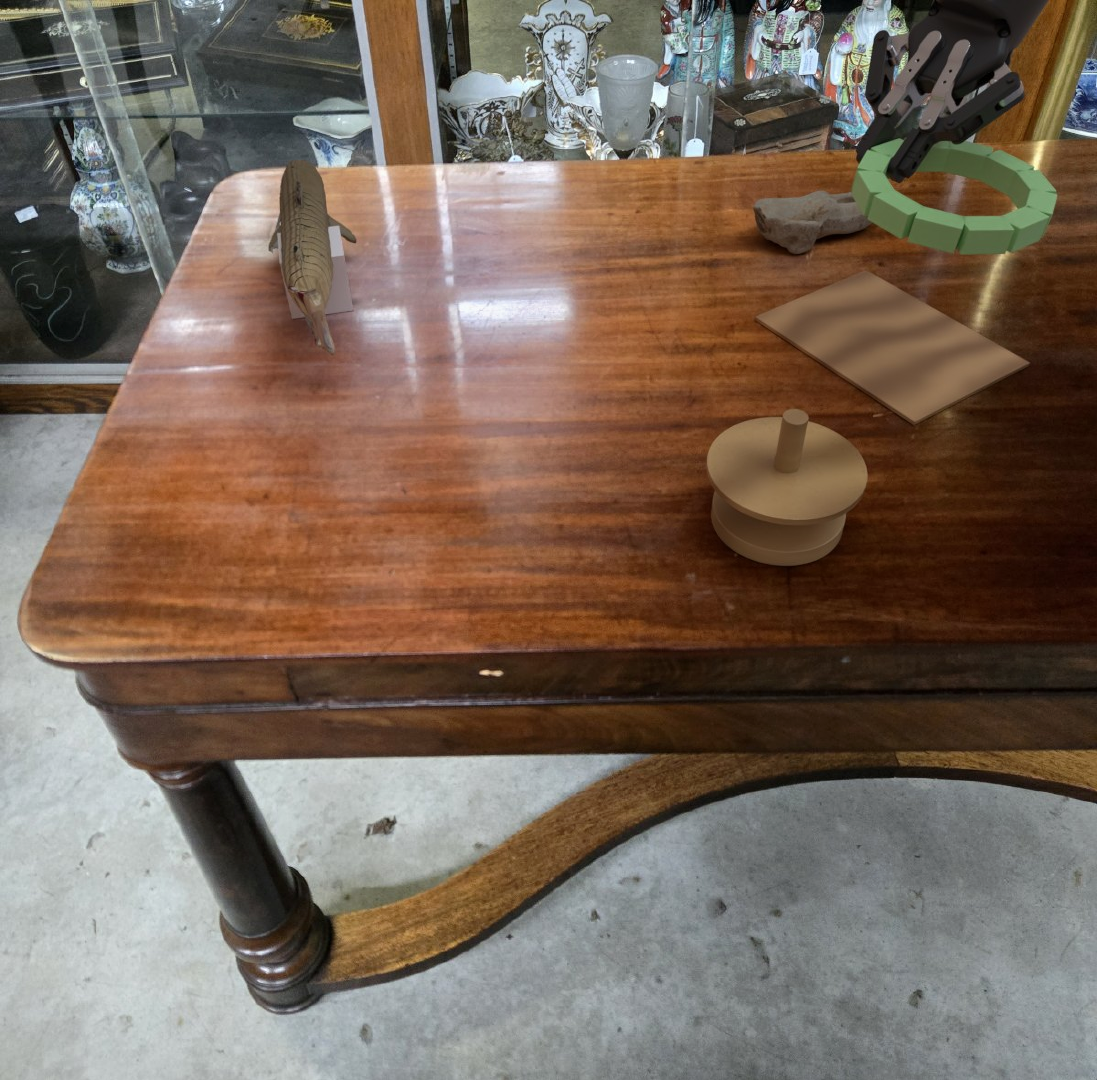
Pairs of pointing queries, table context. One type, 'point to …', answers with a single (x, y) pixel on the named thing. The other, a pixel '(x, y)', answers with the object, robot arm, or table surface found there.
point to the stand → (783, 488)
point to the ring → (949, 228)
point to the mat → (892, 345)
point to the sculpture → (807, 218)
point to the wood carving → (311, 251)
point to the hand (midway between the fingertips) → (878, 170)
